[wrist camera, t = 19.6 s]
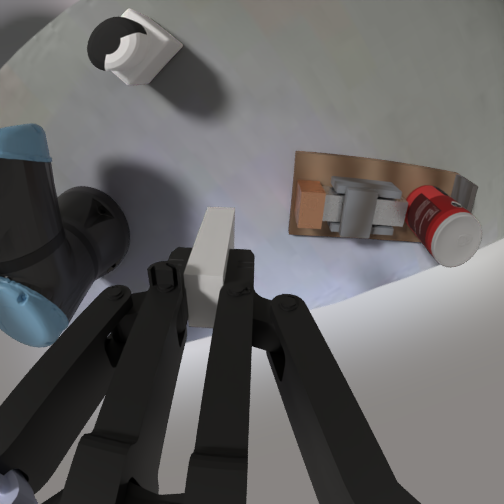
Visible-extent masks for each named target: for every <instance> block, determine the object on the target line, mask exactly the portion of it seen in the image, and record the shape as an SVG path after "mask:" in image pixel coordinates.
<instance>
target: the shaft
mask: <svg viewBox="0 0 504 504" xmlns="http://www.w3.org/2000/svg"><path fill="white" fill-rule="evenodd" d="M344 197H345V194H344V193H337V192H336V191H335V189H334V187H333V186H322V185H321V183H320V181H311V180H297V188H296V198H295V208H294V214H295V218H296V223H297V227H298V228H311V229H321V226H322V221H332V222H340V221H341V215H342V209H343V203H344ZM407 207H408V202H407V201H406V200H405V199H404V198H403V197H402V196H401V199H394V198H385V197H378V198H377V204H376V209H375V214H374V218H373V223H372V224H375V225H388V226H400V227H403V224H404V220H405V215H406V211H407Z"/></svg>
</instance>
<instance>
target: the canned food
mask: <svg viewBox="0 0 504 504" xmlns="http://www.w3.org/2000/svg"><path fill="white" fill-rule="evenodd" d="M406 201H407V202H408V207H407V211H406V215H405V222H406V223H407V225H408V226H409V228H410V229H411V230H412V231H413V232H414V234H415V235H416V236H417V237H418V239H419V240H420V241H421V242H422V244H423V245H424V246H425V247H426V249H427V250H428V251H429V253H430V254H431V255H432V256H433V257H434V259H435V260H436V261H437V262H438V263H439V264H441V265H443V266H445V267H456V266H459V265H461V264H463V263H465V262H467V261H468V260H469V259H470V258H471V257H472V256H473V255H474V254H475V253H476V251H477V249H478V248H479V245H480V243H481V239H482V227H481V224H480V222H479V221H478V220H477V218H476V217H475V216H474V215H472V214H471V213H470V212H469V211H468V210H467V209H465V208H464V207H463V206H462V205H460V204H459V203H458V202H457V201H455V200H454V199H453V198H452V197H450V196H449V195H448V194H446V193H445V192H444V191H443V190H441V189H440V188H438V187H436V186H431V185H424V186H420V187H418V188H416V189H415V190H413V191H412V192H411V193H410V194H409V195H408V197H407V198H406Z"/></svg>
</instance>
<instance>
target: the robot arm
mask: <svg viewBox="0 0 504 504" xmlns="http://www.w3.org/2000/svg"><path fill="white" fill-rule="evenodd" d="M51 162H52V158H51V157H50V155H49V150H48V145H47V140H46V134H45V131H44V130H43V128H42V127H41V126H39V125H37V124H33V123H31V124H23V125H16V126H10V127H5V128H0V329H1V330H2V331H3V332H5V333H6V334H7V335H9V336H10V337H12V338H13V339H15V340H17V341H19V342H21V343H23V344H26V345H29V346H33V347H47V346H50V345H52V344H53V345H52V346H51V347H50V348H49V349H48V350H47V351H46V352H45V354H44V355H43V356H42V357H41V358H40V359H39V361H38V362H37V363H36V364H35V365H34V366H33V367H32V369H31V370H30V371H29V372H28V373H27V374H26V375H25V377H24V378H23V379H22V380H21V381H20V383H19V384H18V385H17V386H16V387H15V389H14V390H13V391H12V392H11V393H10V395H9V396H8V397H7V398H6V400H5V401H4V402H3V404H2V405H1V406H0V504H38V502H37V500H36V499H35V496H34V494H35V493H37V492H38V491H39V490H40V489H41V488H42V487H43V486H44V485H45V484H46V483H47V482H48V480H49V479H50V478H51V476H52V475H53V473H54V472H55V470H56V469H57V467H58V466H59V464H60V463H61V461H62V460H63V458H64V457H65V455H66V453H67V452H68V450H69V449H70V447H71V446H72V444H73V443H74V441H75V440H76V438H77V437H78V435H79V434H80V432H81V430H82V429H83V428H84V426H85V425H86V423H87V421H88V420H89V419H90V417H91V416H92V414H93V413H94V411H95V410H96V408H97V406H98V405H99V404H100V402H101V401H102V399H103V398H104V396H105V395H106V396H105V399H104V401H103V404H102V407H101V410H100V412H99V415H98V418H97V421H96V424H95V427H94V429H93V431H92V432H91V433H88V434H84V435H83V436H82V437H81V439H80V441H79V443H78V446H77V449H76V452H75V455H74V458H73V461H72V464H71V467H70V471H69V474H68V477H67V480H66V484H65V487H64V489H63V490H61V491H60V492H58V493H57V494H55V495H54V496H52V497H51V498H49V499H48V500H46V501H45V502H43V503H42V504H246V494H247V469H248V433H249V407H250V380H251V353H252V352H251V351H252V346H253V347H256V348H259V349H263V350H266V353H267V357H268V360H269V363H270V366H271V369H272V372H273V375H274V377H275V380H276V383H277V386H278V389H279V392H280V395H281V398H282V401H283V403H284V406H285V409H286V412H287V415H288V418H289V421H290V423H291V426H292V429H293V432H294V435H295V438H296V440H297V443H298V446H299V449H300V452H301V455H302V457H303V460H304V463H305V466H306V468H307V471H308V474H309V477H310V480H311V482H312V485H313V488H314V491H315V493H316V496H317V499H318V501H319V504H421V503H420V502H419V501H417V500H416V499H415V498H414V497H413V496H412V495H411V494H410V493H409V492H408V491H406V490H405V489H404V488H403V487H402V486H401V485H400V484H399V483H398V482H397V480H396V478H395V476H394V474H393V472H392V470H391V468H390V466H389V464H388V462H387V460H386V458H385V456H384V454H383V452H382V450H381V448H380V446H379V444H378V442H377V440H376V438H375V436H374V434H373V432H372V430H371V428H370V426H369V424H368V422H367V420H366V418H365V416H364V414H363V412H362V410H361V408H360V407H359V405H358V403H357V401H356V399H355V397H354V395H353V393H352V391H351V389H350V387H349V385H348V383H347V381H346V379H345V378H344V376H343V374H342V372H341V370H340V368H339V366H338V364H337V362H336V360H335V359H334V357H333V355H332V353H331V351H330V349H329V347H328V345H327V343H326V341H325V339H324V337H323V336H322V334H321V332H320V330H319V328H318V326H317V324H316V323H315V321H314V319H313V317H312V315H311V313H310V311H309V309H308V308H307V306H306V304H305V302H304V301H303V300H302V299H301V298H299V297H298V296H295V295H291V294H282V295H278V296H276V297H275V298H273V300H268V299H265V298H263V297H261V296H259V295H258V294H257V293H256V292H255V290H254V254H253V253H252V251H251V250H244V249H234V226H235V208H226V207H208V208H207V210H206V213H205V216H204V218H203V221H202V224H201V227H200V229H199V232H198V235H197V238H196V240H195V243H194V246H193V248H182V247H178V248H176V249H175V250H174V251H173V252H171V255H170V257H169V260H168V261H161V262H157V263H154V264H152V265H151V266H150V267H149V268H148V269H147V271H148V277H149V283H150V288H149V290H148V291H145V292H141V293H134V294H131V291H130V289H129V288H128V287H126V286H123V285H115V286H111V287H108V288H106V289H105V290H104V291H102V292H101V293H100V294H99V295H98V296H97V298H96V299H95V300H94V301H93V302H92V303H91V304H90V305H89V306H88V307H87V308H86V309H85V310H84V311H83V312H82V313H81V314H80V315H79V316H78V317H77V318H76V319H75V321H74V322H73V323H72V324H71V325H70V326H69V327H68V324H69V322H70V320H71V319H72V317H73V315H74V313H75V312H76V310H77V308H78V307H79V305H80V303H81V302H82V300H83V298H84V297H85V295H86V294H87V292H88V290H89V289H90V287H91V285H92V284H93V282H94V281H95V280H97V279H98V278H100V277H102V276H104V275H105V274H107V273H109V272H110V271H112V270H113V269H115V268H116V267H117V266H118V265H119V263H120V262H121V260H122V259H123V257H124V256H125V254H126V252H127V250H128V246H129V240H130V235H129V228H128V224H127V221H126V218H125V216H124V214H123V212H122V211H121V209H120V208H119V206H118V205H117V204H116V203H115V202H114V201H113V200H112V199H111V198H110V197H109V196H107V195H106V194H105V193H103V192H101V191H99V190H97V189H94V188H91V187H85V186H80V187H74V188H71V189H69V190H67V191H65V192H64V193H62V194H61V195H60V196H59V197H57V194H56V189H55V184H54V178H53V172H52V165H51ZM187 321H188V322H189V327H202V328H213V333H212V340H211V346H210V352H209V358H208V364H207V370H206V377H205V383H204V389H203V396H202V402H201V410H200V416H199V423H198V429H197V436H196V443H195V449H194V452H193V453H192V454H191V457H190V461H189V466H188V473H187V480H186V487H185V493H181V494H167V495H159V494H158V491H159V490H158V489H159V487H158V486H159V485H158V469H159V464H160V458H161V453H162V448H163V443H164V438H165V433H166V428H167V423H168V419H169V413H170V409H171V404H172V399H173V395H174V390H175V386H176V381H177V376H178V372H179V368H180V363H181V359H182V354H183V350H184V346H185V342H186V338H187V328H186V325H187ZM67 327H68V328H67ZM66 328H67V329H66ZM65 329H66V330H65ZM63 330H65V331H64V332H63V333H62V331H63ZM61 333H62V335H61V336H60V334H61ZM109 334H110V335H109ZM108 335H109V336H108ZM59 336H60V337H59ZM107 336H108V337H107ZM58 337H59V338H58Z"/></svg>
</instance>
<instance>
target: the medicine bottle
mask: <svg viewBox="0 0 504 504" xmlns="http://www.w3.org/2000/svg"><path fill="white" fill-rule="evenodd" d="M182 47H183V44H182V43H181V42H180V41H178V40H177V39H176V38H175V37H173V36H172V35H171V34H170V33H168V32H167V31H166V30H165V29H163V28H162V27H161V26H160V25H158V24H157V23H156V22H155V21H153V20H152V19H151V18H149V17H148V16H145V15H143V14H141V13H139V12H137V11H135V10H133V9H127V10H126V11H125V12H124V13H123V15H122V16H121V17H112V18H109V19H107V20H105V21H103V22H102V23H100V24H99V25H98V26H97V27H96V28H95V29H94V31H93V32H92V34H91V36H90V38H89V41H88V46H87V52H88V57H89V59H90V61H91V63H92V64H93V65H94V66H95V67H97V68H98V69H101V70H104V71H112V72H113V73H114V74H115V75H116V76H118V77H119V78H120V79H121V80H122V81H123V82H125V83H126V84H127V85H128V86H131V85H141V84H149V83H150V82H151V81H152V79H153V78H154V77H155V76H156V75H157V74H158V73H159V72H160V70H161V69H162V68H163V67H164V66H165V65H166V64H167V63H168V62H169V61H170V60H171V58H172V57H173V56H174V55H175V54H176V53H177V52H178V51H179V50H180V49H181V48H182Z"/></svg>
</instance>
